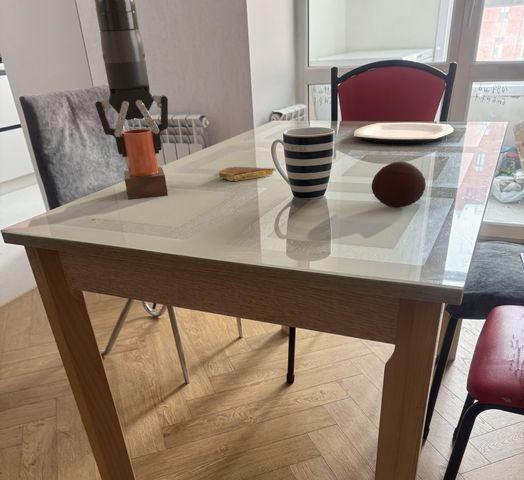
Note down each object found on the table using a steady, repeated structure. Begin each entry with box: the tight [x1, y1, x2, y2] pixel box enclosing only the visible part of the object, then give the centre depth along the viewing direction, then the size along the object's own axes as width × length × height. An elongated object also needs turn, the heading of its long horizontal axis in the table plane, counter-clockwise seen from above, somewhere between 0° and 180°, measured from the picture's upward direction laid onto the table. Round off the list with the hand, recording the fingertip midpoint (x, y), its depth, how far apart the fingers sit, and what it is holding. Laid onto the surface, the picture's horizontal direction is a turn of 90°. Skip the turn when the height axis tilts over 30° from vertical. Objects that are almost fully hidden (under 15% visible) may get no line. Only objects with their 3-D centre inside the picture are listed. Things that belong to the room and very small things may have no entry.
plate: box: [353, 122, 454, 144], centre depth 144 cm, size 27×27×2 cm
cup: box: [121, 128, 159, 176], centre depth 103 cm, size 6×6×8 cm
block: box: [123, 166, 169, 200], centre depth 106 cm, size 8×8×4 cm
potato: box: [371, 161, 427, 209], centre depth 87 cm, size 8×9×8 cm
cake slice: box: [218, 166, 275, 182], centre depth 113 cm, size 11×8×2 cm
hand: (140, 154), depth 103 cm, fingers closed on cup, 6 cm apart
